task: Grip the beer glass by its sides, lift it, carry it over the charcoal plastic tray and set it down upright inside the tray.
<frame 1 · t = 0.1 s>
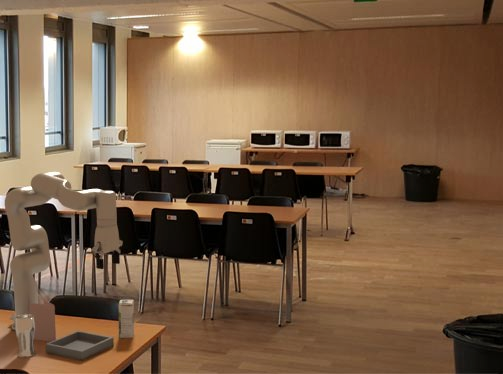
hand: (108, 266, 280), 31 cm above the table, tool pointing down, fingers open, 9 cm apart
syrup box: (126, 336, 293), on the table
tray: (80, 349, 277), on the table
greeting card: (43, 340, 289), on the table
beer glass: (26, 355, 272), on the table
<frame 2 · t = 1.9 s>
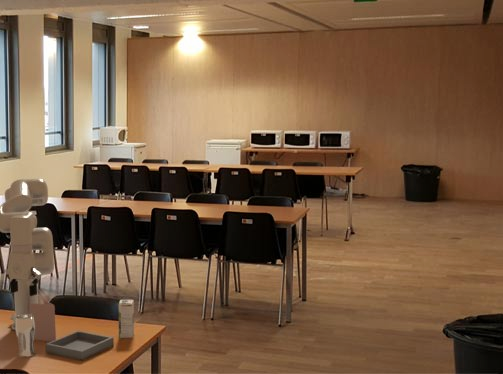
hand: (23, 293, 269), 24 cm above the table, tool pointing down, fingers open, 9 cm apart
nothing on the table moved.
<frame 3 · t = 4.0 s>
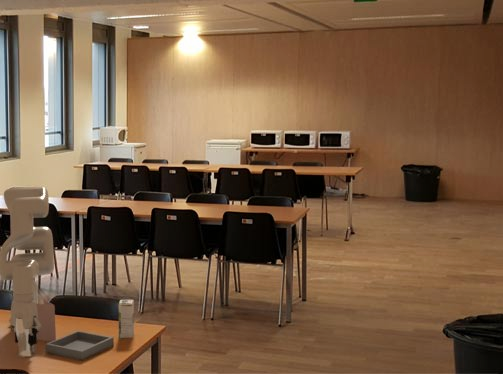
hand: (26, 342, 271), 5 cm above the table, tool pointing down, fingers closed on beer glass, 6 cm apart
beer glass: (26, 355, 272), on the table, touching gripper
everything else where it was.
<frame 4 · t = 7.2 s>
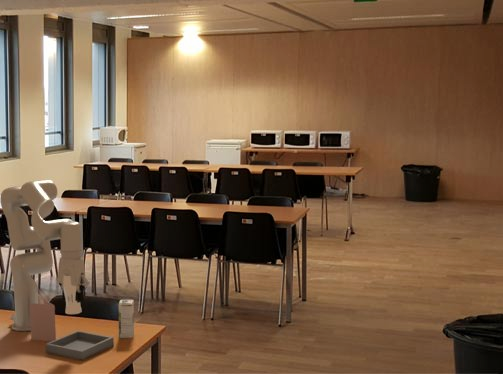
hand: (73, 300, 274), 20 cm above the table, tool pointing down, fingers closed on beer glass, 6 cm apart
beer glass: (73, 312, 275), point 15 cm above the table, touching gripper
everything else where it was.
when the fingers open (7 cm above the table, at t = 10.3 s): beer glass drops 1 cm, resting on tray.
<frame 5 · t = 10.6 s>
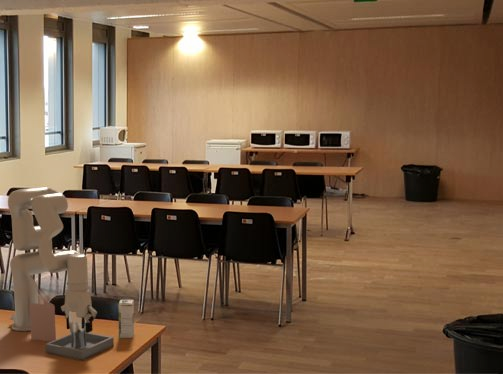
hand: (79, 330, 276), 8 cm above the table, tool pointing down, fingers open, 9 cm apart
beer glass: (79, 347, 277), point 1 cm above the table, touching tray
everything else where it was.
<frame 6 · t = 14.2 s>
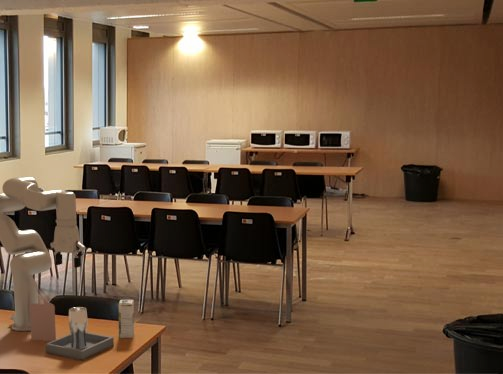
hand: (68, 265, 285), 30 cm above the table, tool pointing down, fingers open, 9 cm apart
nothing on the table moved.
at the end: beer glass inside the target area on the tray (0.6 cm from its centre), point 0.6 cm above the tray's base; beer glass tilted 0°; the gripper is holding nothing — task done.
